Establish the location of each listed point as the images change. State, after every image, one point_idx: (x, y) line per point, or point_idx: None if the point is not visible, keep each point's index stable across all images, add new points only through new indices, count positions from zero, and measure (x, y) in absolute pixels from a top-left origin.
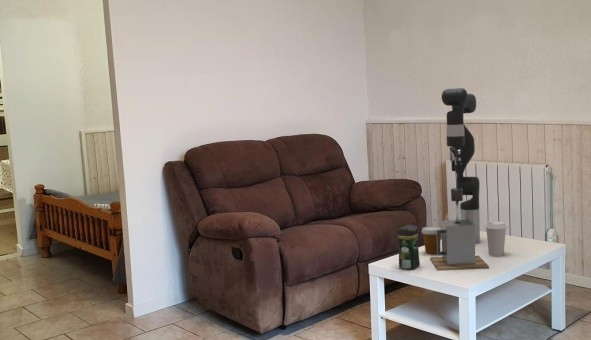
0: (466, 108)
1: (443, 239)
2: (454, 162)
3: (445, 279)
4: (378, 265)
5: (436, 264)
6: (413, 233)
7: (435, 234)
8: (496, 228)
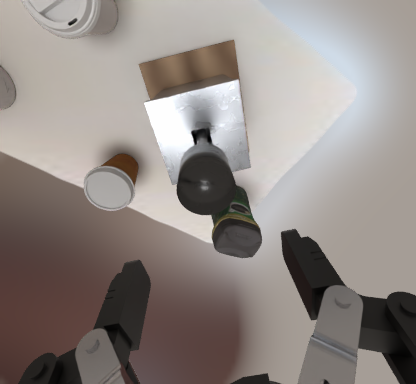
0: None
1: None
2: (122, 339)
3: (305, 133)
4: None
5: None
6: (254, 226)
7: (130, 178)
8: None
